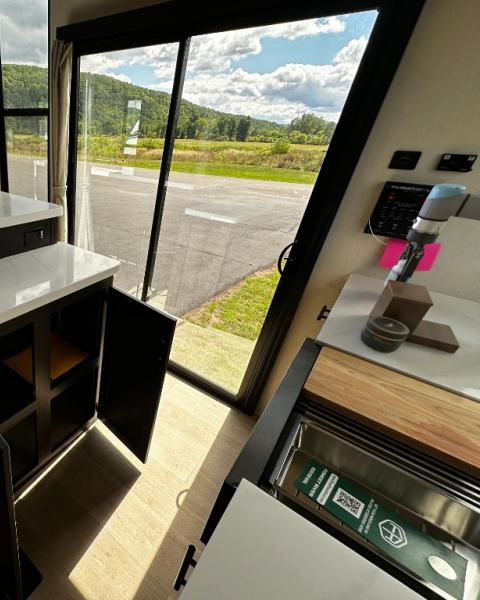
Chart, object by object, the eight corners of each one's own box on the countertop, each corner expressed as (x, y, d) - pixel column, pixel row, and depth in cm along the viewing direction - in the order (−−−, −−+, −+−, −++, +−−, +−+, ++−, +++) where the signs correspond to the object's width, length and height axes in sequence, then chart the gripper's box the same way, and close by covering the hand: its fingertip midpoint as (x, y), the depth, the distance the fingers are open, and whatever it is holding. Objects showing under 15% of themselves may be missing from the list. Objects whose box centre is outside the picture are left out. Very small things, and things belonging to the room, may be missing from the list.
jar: (400, 343, 102) (413, 325, 98) (393, 358, 97) (407, 339, 93) (362, 329, 109) (372, 311, 104) (354, 342, 103) (364, 324, 99)
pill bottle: (395, 284, 126) (410, 258, 120) (407, 292, 121) (423, 265, 115) (379, 284, 127) (392, 258, 121) (390, 291, 122) (405, 265, 116)
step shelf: (444, 332, 106) (472, 295, 98) (454, 353, 98) (486, 315, 90) (368, 314, 116) (388, 279, 108) (371, 332, 107) (393, 295, 99)
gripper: (406, 221, 120) (378, 275, 132) (416, 237, 107) (383, 295, 119) (434, 223, 116) (402, 279, 128) (447, 241, 103) (410, 300, 115)
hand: (393, 287), depth 124 cm, fingers closed on pill bottle, 6 cm apart
